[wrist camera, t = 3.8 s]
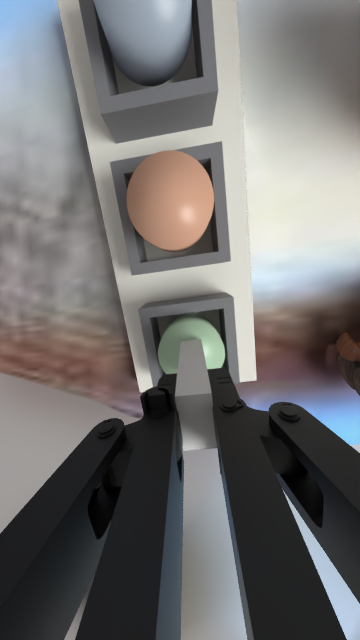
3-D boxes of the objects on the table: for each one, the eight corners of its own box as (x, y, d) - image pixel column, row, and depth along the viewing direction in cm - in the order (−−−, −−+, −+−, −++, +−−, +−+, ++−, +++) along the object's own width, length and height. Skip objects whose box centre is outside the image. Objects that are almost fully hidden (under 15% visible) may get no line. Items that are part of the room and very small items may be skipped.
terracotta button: (132, 182, 14) (118, 159, 11) (204, 169, 13) (209, 142, 11) (145, 256, 15) (135, 253, 12) (211, 247, 15) (217, 241, 12)
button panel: (71, 25, 15) (18, -88, 10) (228, -12, 14) (248, -153, 10) (143, 381, 23) (132, 412, 18) (250, 370, 22) (268, 399, 17)
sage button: (158, 317, 17) (152, 326, 14) (215, 309, 17) (221, 318, 14) (167, 369, 18) (163, 387, 16) (221, 363, 18) (227, 381, 15)
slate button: (99, -14, 11) (69, -110, 9) (185, -35, 11) (184, -143, 8) (117, 93, 13) (96, 41, 10) (195, 77, 12) (198, 17, 9)
